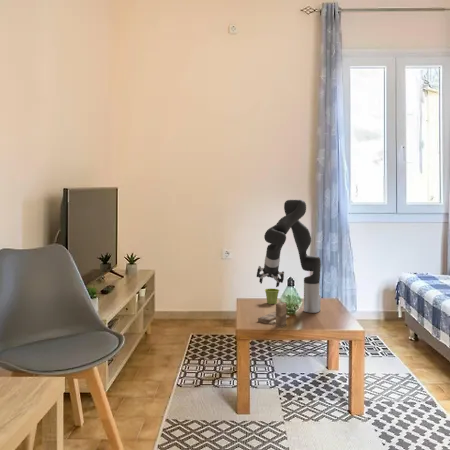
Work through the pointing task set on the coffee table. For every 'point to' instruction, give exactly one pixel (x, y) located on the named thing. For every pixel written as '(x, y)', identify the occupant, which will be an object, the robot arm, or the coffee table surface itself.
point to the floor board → (269, 318)
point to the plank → (280, 314)
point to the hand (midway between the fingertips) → (269, 284)
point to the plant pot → (271, 295)
